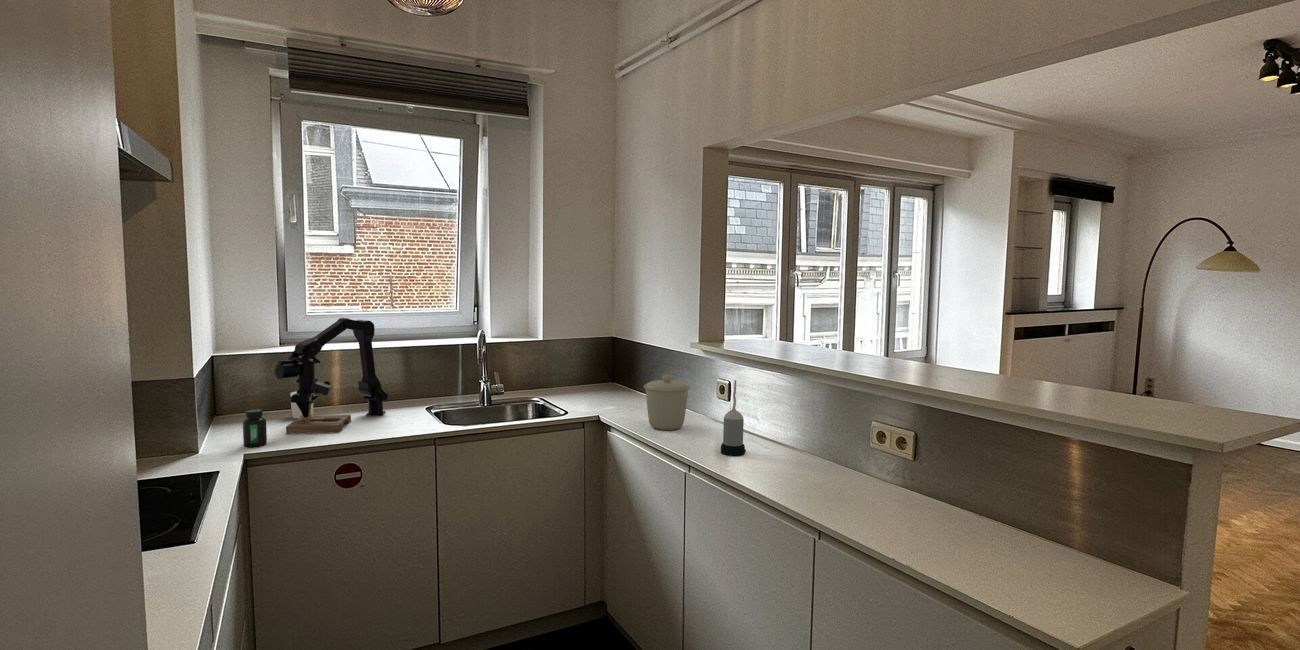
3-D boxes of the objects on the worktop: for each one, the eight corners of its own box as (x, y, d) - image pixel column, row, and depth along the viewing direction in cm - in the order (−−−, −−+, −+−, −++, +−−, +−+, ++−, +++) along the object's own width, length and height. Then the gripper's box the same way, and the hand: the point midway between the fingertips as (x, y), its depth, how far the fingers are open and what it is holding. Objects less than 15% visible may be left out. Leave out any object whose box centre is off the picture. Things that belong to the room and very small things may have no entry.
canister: (638, 423, 264) (639, 371, 262) (681, 421, 269) (682, 370, 267) (650, 434, 246) (651, 378, 245) (695, 431, 251) (696, 377, 250)
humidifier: (750, 454, 221) (752, 381, 219) (731, 457, 217) (733, 383, 215) (734, 448, 228) (736, 377, 226) (715, 451, 224) (717, 379, 221)
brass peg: (303, 426, 250) (302, 402, 249) (316, 426, 251) (315, 402, 250) (299, 429, 245) (299, 405, 245) (312, 428, 246) (311, 404, 246)
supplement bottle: (257, 448, 219) (256, 413, 218) (238, 447, 219) (237, 412, 219) (271, 443, 226) (270, 409, 225) (253, 442, 226) (251, 408, 225)
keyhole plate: (301, 422, 256) (301, 415, 255) (350, 421, 259) (350, 414, 259) (286, 434, 238) (285, 426, 238) (339, 432, 242) (339, 424, 242)
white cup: (291, 415, 267) (290, 391, 267) (312, 414, 271) (312, 390, 270) (290, 419, 260) (290, 395, 260) (313, 418, 264) (312, 393, 263)
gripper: (322, 379, 239) (323, 421, 240) (336, 371, 257) (337, 410, 258) (289, 380, 237) (290, 422, 238) (305, 372, 255) (306, 411, 256)
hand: (307, 416), depth 248 cm, fingers closed on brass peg, 3 cm apart
